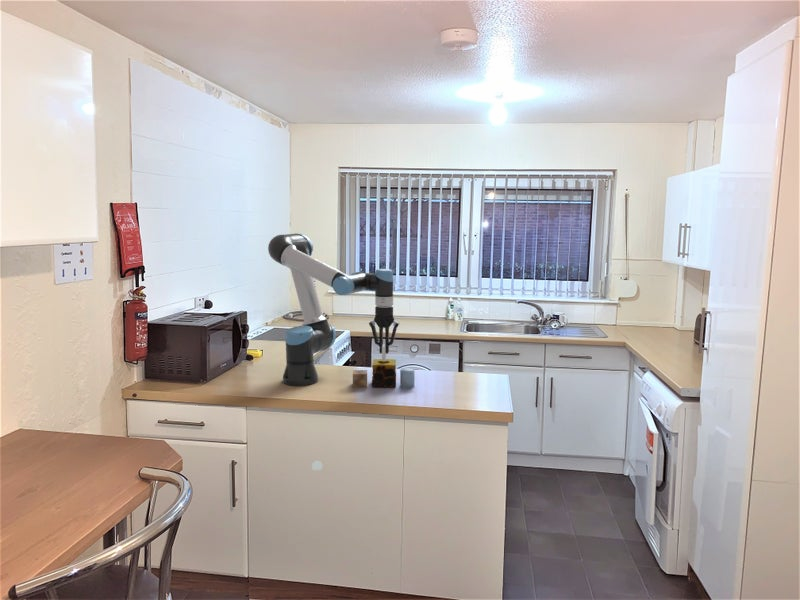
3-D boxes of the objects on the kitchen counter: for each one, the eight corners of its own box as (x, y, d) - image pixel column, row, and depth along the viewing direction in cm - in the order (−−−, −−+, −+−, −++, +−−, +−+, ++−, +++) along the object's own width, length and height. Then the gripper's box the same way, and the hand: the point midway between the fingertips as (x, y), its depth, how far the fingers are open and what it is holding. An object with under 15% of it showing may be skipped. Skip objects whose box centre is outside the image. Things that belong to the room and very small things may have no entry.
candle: (395, 388, 250) (395, 365, 249) (371, 388, 251) (371, 365, 249) (396, 381, 260) (396, 359, 259) (373, 381, 261) (373, 358, 259)
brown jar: (352, 388, 251) (352, 374, 250) (353, 383, 257) (353, 370, 256) (367, 387, 251) (367, 374, 250) (367, 383, 257) (367, 370, 256)
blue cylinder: (399, 387, 251) (399, 371, 250) (401, 383, 257) (401, 367, 255) (413, 388, 250) (413, 372, 249) (415, 384, 256) (415, 368, 255)
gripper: (367, 307, 247) (367, 362, 251) (398, 307, 246) (398, 363, 249) (370, 304, 255) (370, 357, 258) (400, 304, 253) (400, 359, 257)
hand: (384, 360), depth 254 cm, fingers closed
